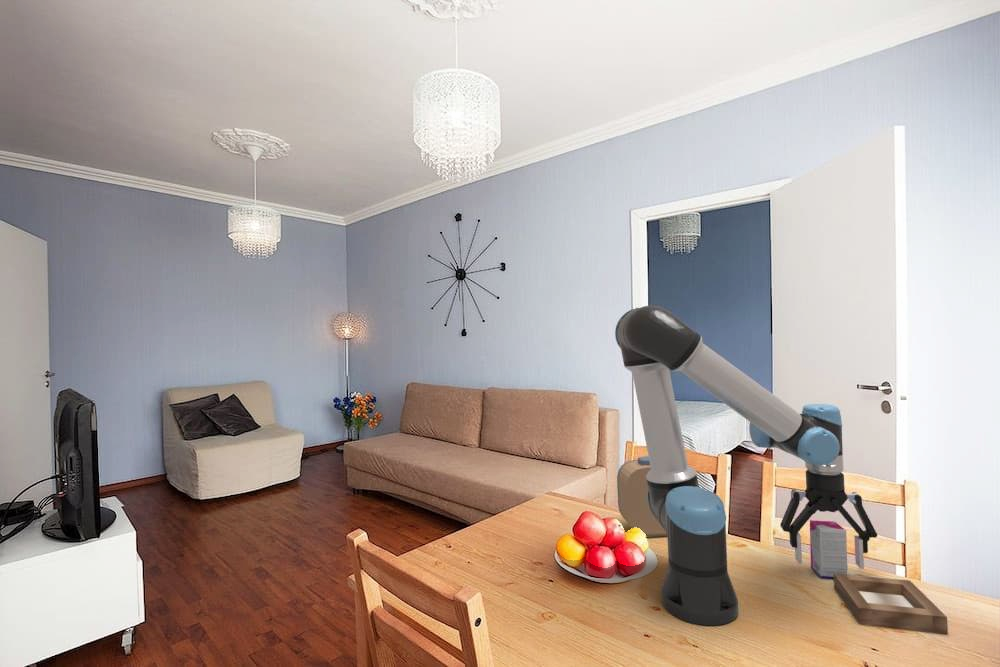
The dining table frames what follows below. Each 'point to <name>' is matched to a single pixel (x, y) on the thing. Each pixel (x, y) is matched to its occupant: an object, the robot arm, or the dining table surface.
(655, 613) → the dining table surface
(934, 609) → the socket block
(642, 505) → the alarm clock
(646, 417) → the robot arm
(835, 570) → the supplement box
